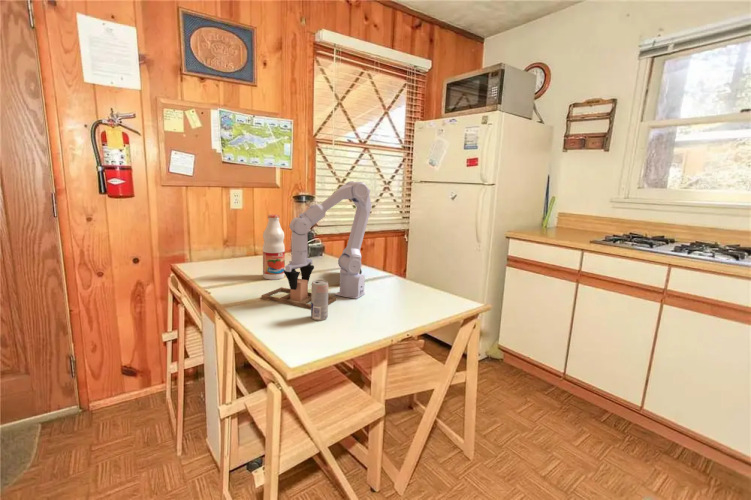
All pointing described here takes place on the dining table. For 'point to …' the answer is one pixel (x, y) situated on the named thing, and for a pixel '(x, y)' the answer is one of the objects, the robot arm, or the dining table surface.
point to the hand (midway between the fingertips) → (299, 286)
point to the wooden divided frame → (287, 300)
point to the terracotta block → (300, 290)
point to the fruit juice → (273, 250)
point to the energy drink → (319, 300)
